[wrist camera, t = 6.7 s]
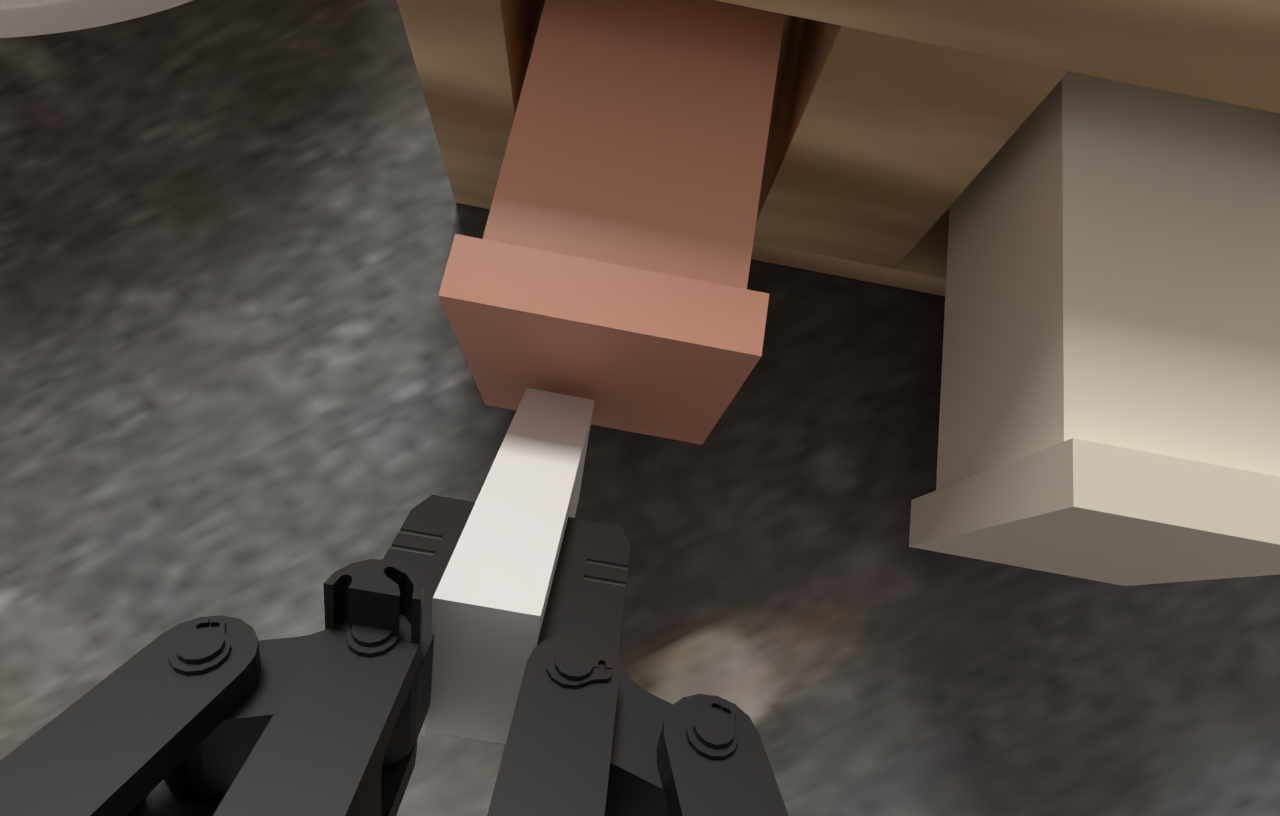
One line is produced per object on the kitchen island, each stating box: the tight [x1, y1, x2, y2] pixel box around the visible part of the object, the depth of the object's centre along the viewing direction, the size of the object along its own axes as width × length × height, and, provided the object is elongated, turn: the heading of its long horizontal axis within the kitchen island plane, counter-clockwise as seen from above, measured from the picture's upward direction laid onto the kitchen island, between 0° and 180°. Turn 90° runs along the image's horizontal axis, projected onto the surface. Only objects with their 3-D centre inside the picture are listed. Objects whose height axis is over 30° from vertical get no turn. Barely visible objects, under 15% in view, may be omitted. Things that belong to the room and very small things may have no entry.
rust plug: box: [438, 0, 785, 445], centre depth 18 cm, size 17×6×6 cm, turn 170°
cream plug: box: [909, 71, 1280, 586], centre depth 18 cm, size 17×6×6 cm, turn 170°
